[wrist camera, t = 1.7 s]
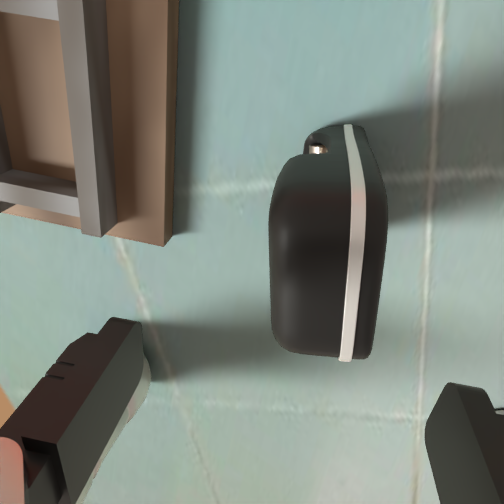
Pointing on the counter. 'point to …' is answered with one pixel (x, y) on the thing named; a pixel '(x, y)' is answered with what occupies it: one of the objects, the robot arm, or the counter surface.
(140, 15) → the rail block
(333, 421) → the counter surface
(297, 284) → the battery charger
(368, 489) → the counter surface
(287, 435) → the counter surface
